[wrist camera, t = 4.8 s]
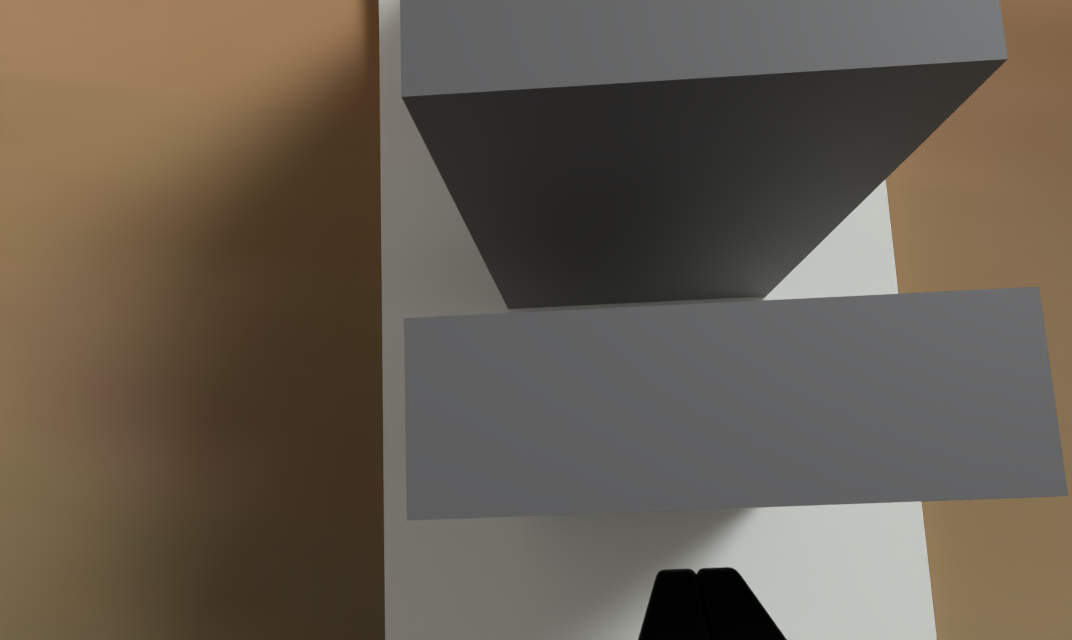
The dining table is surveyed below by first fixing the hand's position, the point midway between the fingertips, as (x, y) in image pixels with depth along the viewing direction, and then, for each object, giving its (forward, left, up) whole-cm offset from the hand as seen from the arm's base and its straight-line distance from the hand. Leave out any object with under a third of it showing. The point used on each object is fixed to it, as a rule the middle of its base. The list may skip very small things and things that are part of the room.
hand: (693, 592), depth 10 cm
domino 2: (0, +2, -7) cm, 7 cm away
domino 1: (+1, +5, -7) cm, 9 cm away
